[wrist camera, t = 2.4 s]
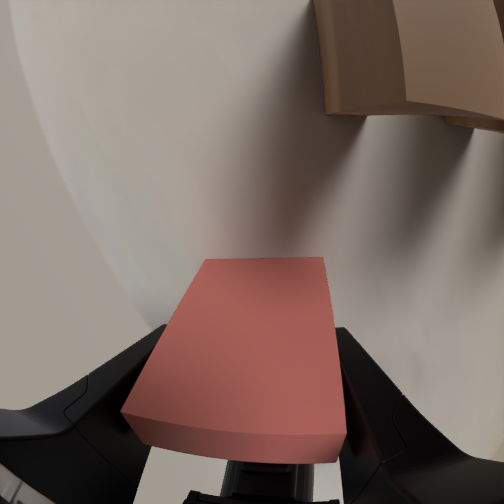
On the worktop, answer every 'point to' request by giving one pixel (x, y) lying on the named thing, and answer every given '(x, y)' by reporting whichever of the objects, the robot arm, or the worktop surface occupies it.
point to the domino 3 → (503, 9)
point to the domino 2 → (411, 57)
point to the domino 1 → (246, 367)
